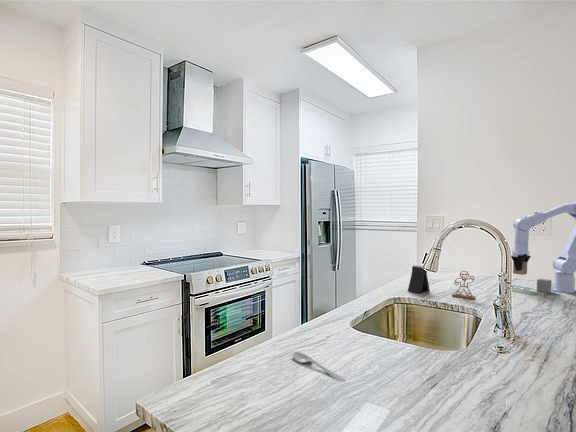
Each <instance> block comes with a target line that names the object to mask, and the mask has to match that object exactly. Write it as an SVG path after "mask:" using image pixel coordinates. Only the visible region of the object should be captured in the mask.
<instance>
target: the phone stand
mask: <svg viewBox="0 0 576 432" xmlns="http://www.w3.org/2000/svg"><path fill="white" fill-rule="evenodd" d="M422 267H423V266H421V265H412V268H411V274H410V280H409V284H408V287H407V288H408V289H407V292H409V293H414V294H418V295H421V294H425V293H428V292H431V289H430V285H429V284H430V283H429V279H428V272H427V271H428V270H427V271H425V270H424V269H423V268H422ZM424 292H425V293H424Z"/></svg>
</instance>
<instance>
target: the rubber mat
mask: <svg viewBox="0 0 576 432" xmlns="http://www.w3.org/2000/svg"><path fill="white" fill-rule="evenodd" d="M511 292H514V293H519V294H524V295H529V296H536V295H539V293H540V292H535V291H530V290H528V291H524V290H519V289H513V288H512V291H511Z"/></svg>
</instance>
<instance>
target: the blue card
mask: <svg viewBox="0 0 576 432" xmlns="http://www.w3.org/2000/svg"><path fill="white" fill-rule="evenodd" d="M511 286H512V288H513V289H519V290H524V291H530V290H533V289H534V288H532V287H526V286H521V285H513V284H512V285H511Z"/></svg>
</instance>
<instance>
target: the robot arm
mask: <svg viewBox="0 0 576 432" xmlns="http://www.w3.org/2000/svg"><path fill="white" fill-rule="evenodd" d="M565 213H566V214H569V216H571V217H573V219H574V220H575V222H576V201H570V202H566V203H562V204H560V205H557V206H555V207H553V208H551V209H548V210H546V211H544V212H542V211H533V212H532V214H529V215H523V217H522V218H517V219H515V221H514V223H512V226H513V228H514V229H515V230H514V248H513V249H514V250H511V253H512V255H510V258H511V260H512V261H513V262H514V265H515V269H516V270H517V271H521V269H522V264H523V261H524V262H527V263H529V261H530V259H531V255H530V250H529V235H530V233H529V232H530V230H531V229H532V228H534V227H536V226H539V225H541V224H544V223H546V221H547V219H550V218H552V217H556V216H559V215H561V214H565ZM552 267H553V268H554V270H555V271H554V287H553V288H551V292H552V291H554V292H559V293H565V294H570V295H571V294H574V293H576V288H575V287H576V286H575V285H576V277H575V275H574V274H575V272H576V224H575V225H574V227H573V230H572V232H571V234H570V236H569V238H568V240H567V242H566V244H565V246H564V249H563V251H562V252H561V253H560V254H558V256H557V257H556V258H555V259H554V260H553V261H552Z"/></svg>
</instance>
